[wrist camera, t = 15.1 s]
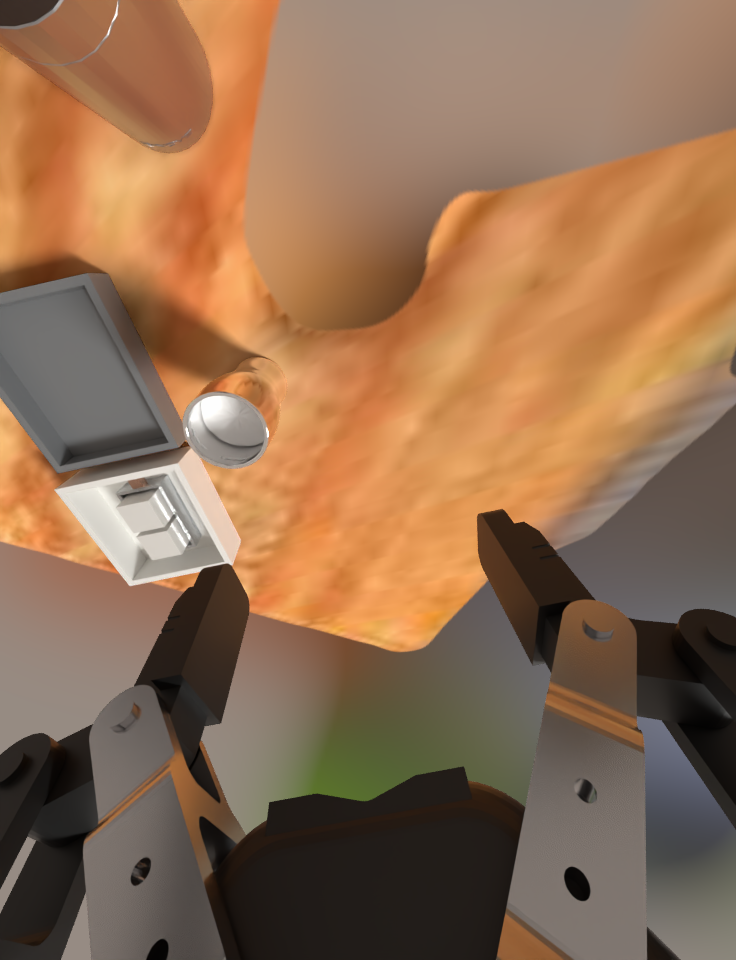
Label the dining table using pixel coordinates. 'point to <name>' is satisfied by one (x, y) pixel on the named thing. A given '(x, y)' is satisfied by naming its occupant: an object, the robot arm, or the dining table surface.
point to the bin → (100, 518)
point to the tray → (82, 375)
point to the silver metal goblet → (236, 414)
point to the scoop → (172, 500)
